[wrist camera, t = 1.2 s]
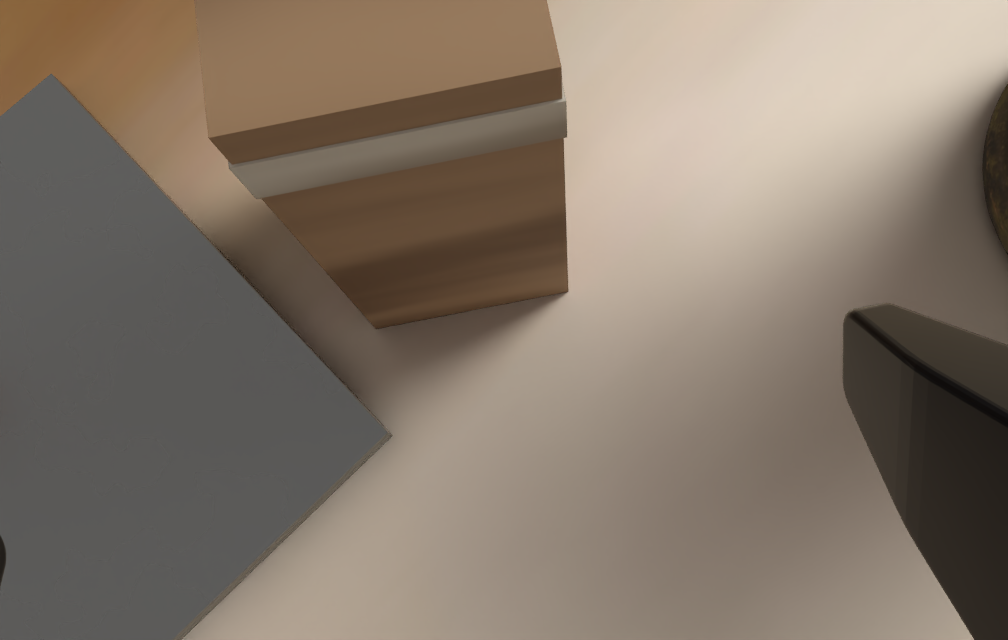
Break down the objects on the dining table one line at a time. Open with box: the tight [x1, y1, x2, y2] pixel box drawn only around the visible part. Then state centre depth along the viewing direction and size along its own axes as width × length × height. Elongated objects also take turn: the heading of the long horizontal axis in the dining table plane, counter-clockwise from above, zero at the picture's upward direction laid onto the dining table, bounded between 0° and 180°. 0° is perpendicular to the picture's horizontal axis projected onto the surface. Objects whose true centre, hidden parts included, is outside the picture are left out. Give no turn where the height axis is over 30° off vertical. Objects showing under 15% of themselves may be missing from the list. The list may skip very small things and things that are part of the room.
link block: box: [194, 0, 568, 329], centre depth 19 cm, size 5×5×11 cm
